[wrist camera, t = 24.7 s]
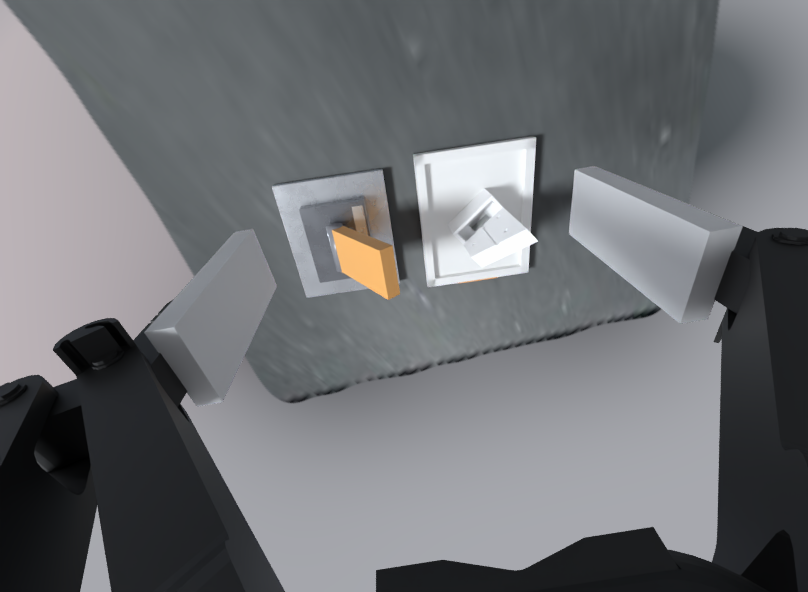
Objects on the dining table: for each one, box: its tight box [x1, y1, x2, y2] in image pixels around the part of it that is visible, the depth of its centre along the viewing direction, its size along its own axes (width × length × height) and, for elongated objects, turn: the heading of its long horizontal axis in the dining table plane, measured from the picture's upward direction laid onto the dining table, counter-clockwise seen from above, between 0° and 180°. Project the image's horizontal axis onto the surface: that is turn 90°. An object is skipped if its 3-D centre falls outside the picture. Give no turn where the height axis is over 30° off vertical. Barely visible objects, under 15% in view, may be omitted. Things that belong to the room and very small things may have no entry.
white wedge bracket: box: [447, 189, 538, 267], centre depth 38 cm, size 4×10×9 cm, turn 136°
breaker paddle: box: [326, 223, 400, 300], centre depth 36 cm, size 5×2×11 cm
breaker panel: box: [272, 169, 400, 298], centre depth 41 cm, size 14×12×2 cm
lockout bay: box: [413, 136, 536, 287], centre depth 42 cm, size 16×13×1 cm
